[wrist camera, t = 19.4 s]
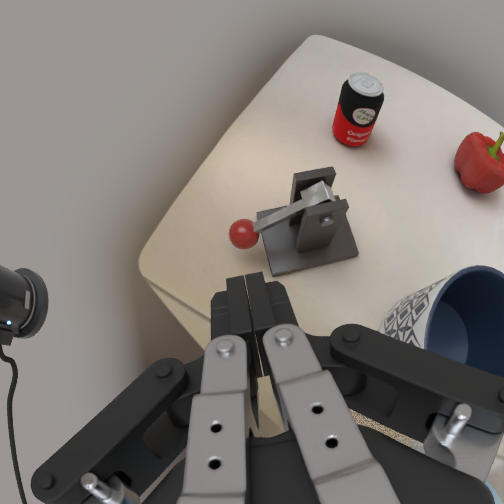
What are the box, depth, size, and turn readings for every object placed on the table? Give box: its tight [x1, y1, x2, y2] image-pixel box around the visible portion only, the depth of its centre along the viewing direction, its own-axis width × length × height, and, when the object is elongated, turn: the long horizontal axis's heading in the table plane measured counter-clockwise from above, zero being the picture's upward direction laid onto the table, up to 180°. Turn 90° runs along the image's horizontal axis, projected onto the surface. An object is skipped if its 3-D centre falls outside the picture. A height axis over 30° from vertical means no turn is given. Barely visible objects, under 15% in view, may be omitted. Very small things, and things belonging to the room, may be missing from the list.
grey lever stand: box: [257, 167, 359, 277], centre depth 37 cm, size 12×9×13 cm
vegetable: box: [455, 132, 504, 194], centre depth 41 cm, size 11×10×10 cm
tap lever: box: [229, 181, 336, 249], centre depth 35 cm, size 13×4×4 cm
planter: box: [379, 265, 504, 378], centre depth 31 cm, size 16×16×14 cm
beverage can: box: [333, 72, 384, 146], centre depth 43 cm, size 6×6×12 cm
